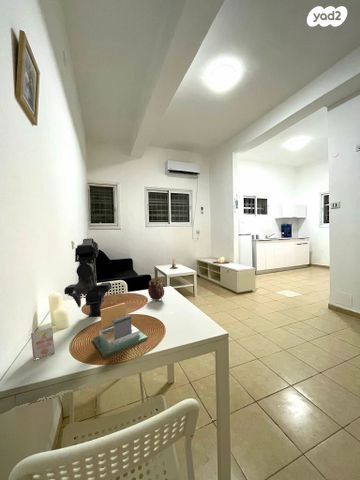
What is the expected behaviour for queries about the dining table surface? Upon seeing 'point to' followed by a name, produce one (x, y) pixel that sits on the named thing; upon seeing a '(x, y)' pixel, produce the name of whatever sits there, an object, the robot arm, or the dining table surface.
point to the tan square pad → (112, 315)
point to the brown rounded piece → (156, 289)
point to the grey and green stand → (118, 336)
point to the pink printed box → (42, 343)
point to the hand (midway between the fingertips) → (90, 306)
